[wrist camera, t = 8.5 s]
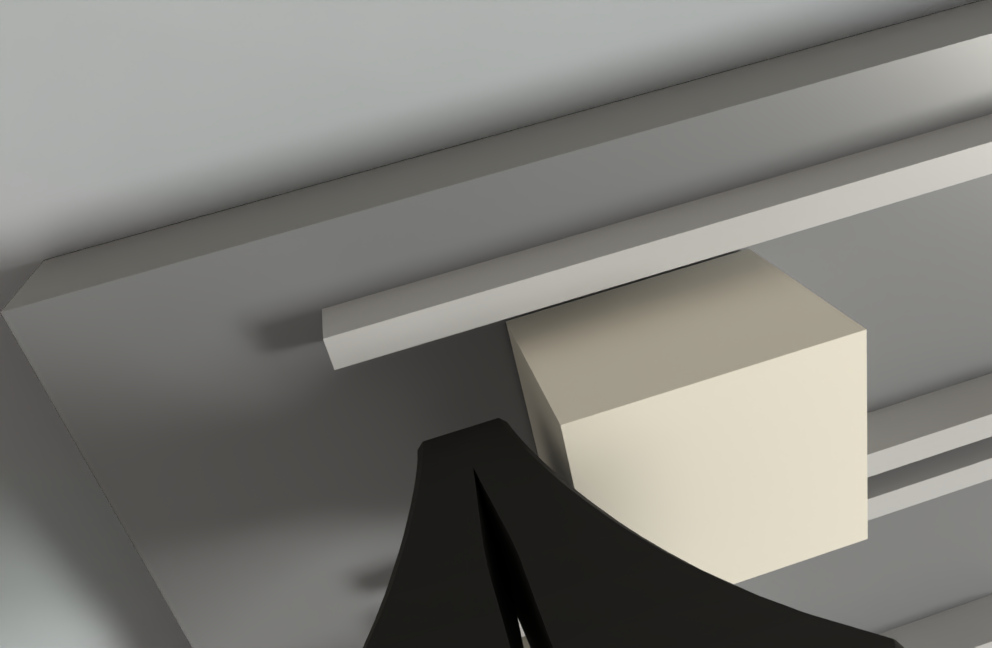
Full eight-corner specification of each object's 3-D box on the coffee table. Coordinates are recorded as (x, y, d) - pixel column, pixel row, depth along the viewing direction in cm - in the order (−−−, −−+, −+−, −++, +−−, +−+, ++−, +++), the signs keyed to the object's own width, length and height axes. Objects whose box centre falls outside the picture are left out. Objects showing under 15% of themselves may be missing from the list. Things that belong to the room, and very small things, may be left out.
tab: (763, 428, 14) (867, 539, 12) (548, 496, 14) (605, 627, 11) (749, 248, 13) (866, 329, 10) (505, 321, 12) (560, 425, 10)
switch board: (1081, 533, 21) (1196, 619, 18) (325, 796, 19) (328, 934, 16) (1174, -54, 14) (1373, -53, 12) (43, 260, 12) (-27, 346, 10)
